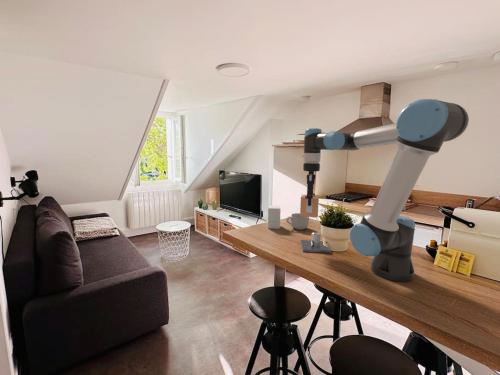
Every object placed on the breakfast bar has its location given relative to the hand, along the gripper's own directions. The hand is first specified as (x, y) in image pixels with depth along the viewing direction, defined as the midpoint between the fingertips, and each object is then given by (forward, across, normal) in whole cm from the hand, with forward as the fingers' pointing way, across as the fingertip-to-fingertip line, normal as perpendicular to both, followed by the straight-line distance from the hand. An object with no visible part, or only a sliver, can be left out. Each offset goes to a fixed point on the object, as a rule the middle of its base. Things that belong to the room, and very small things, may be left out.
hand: (309, 210), depth 122 cm
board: (+19, -1, +3) cm, 19 cm away
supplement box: (+18, -27, -22) cm, 39 cm away
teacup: (+18, -29, -8) cm, 35 cm away
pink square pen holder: (+2, 0, 0) cm, 2 cm away
